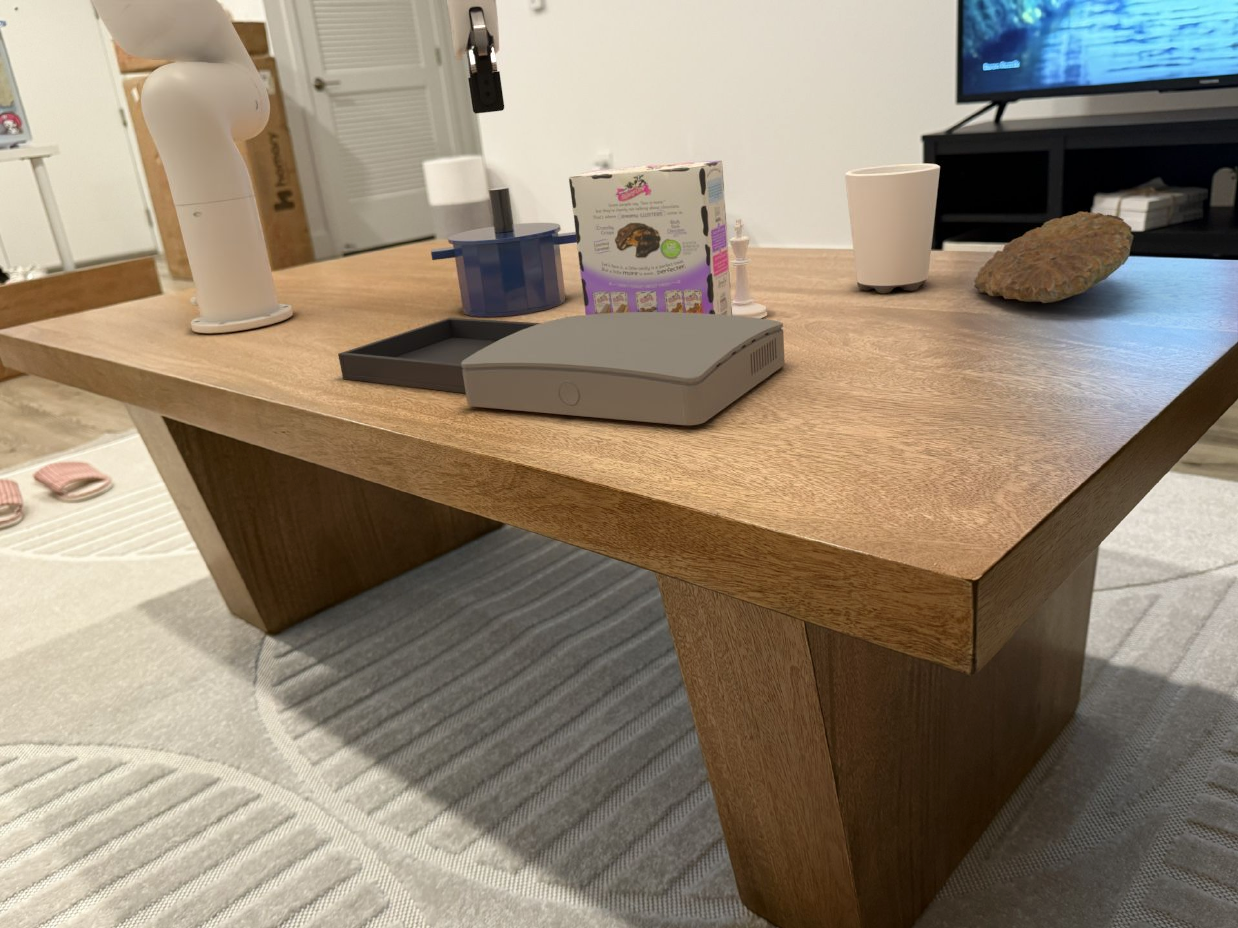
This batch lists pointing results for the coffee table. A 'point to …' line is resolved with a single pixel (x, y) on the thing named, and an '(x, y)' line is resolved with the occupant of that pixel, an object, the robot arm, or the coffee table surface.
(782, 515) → the coffee table surface
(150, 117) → the robot arm
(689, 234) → the candy box
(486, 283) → the pot
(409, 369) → the tray
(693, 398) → the electronic device
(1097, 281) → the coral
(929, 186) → the cup
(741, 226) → the chess piece
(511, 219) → the lid
